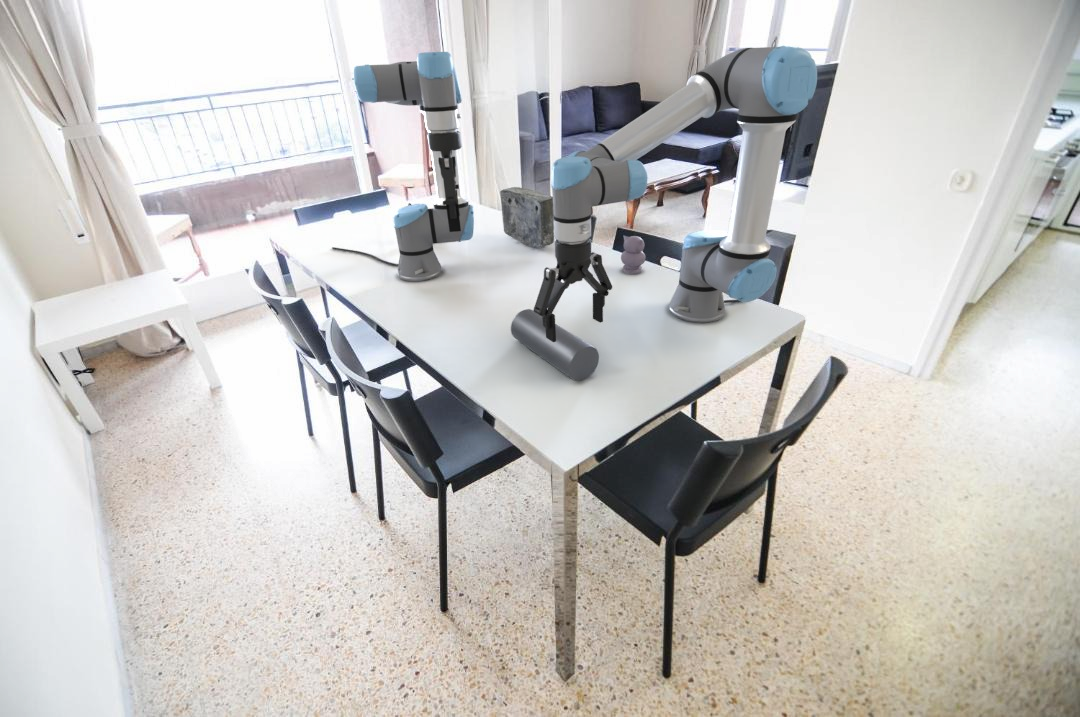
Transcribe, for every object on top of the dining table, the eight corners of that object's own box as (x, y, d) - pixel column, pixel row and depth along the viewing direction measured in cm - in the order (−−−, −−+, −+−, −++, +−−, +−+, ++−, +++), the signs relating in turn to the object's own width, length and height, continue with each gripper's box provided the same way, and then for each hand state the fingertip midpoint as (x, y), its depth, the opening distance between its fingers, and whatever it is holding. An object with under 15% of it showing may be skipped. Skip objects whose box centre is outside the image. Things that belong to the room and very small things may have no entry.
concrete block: (559, 249, 192) (558, 197, 182) (540, 255, 188) (538, 201, 178) (520, 233, 211) (518, 185, 200) (503, 238, 207) (499, 188, 196)
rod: (512, 344, 131) (509, 314, 126) (539, 334, 135) (537, 304, 130) (569, 386, 114) (568, 353, 109) (598, 373, 118) (599, 341, 113)
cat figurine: (649, 270, 171) (652, 236, 165) (636, 276, 167) (638, 242, 160) (628, 264, 176) (630, 231, 170) (615, 271, 172) (617, 237, 165)
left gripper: (461, 137, 103) (471, 237, 114) (458, 123, 124) (468, 209, 136) (424, 139, 102) (439, 239, 114) (428, 125, 124) (440, 211, 135)
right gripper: (533, 259, 93) (540, 355, 104) (630, 228, 105) (626, 318, 116) (511, 249, 98) (520, 341, 110) (606, 221, 110) (605, 307, 121)
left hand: (454, 223), depth 125 cm, fingers open, 13 cm apart
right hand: (575, 329), depth 113 cm, fingers open, 13 cm apart
